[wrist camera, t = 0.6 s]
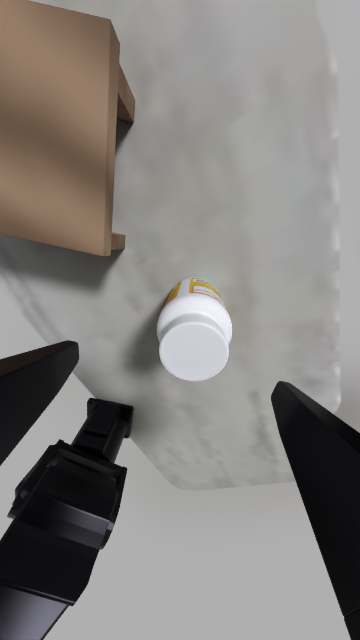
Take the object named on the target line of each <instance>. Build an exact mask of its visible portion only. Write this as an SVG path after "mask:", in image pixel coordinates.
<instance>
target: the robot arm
mask: <svg viewBox="0 0 360 640" xmlns="http://www.w3.org/2000/svg"><path fill="white" fill-rule="evenodd" d="M78 360H79V346H78V343H77V342H74V341H69V340H67V341H63V342H60V343H56V344H53V345H49V346H46V347H42V348H39V349H35V350H32V351H28V352H25V353H21V354H17V355H14V356H10V357H7V358H4V359H0V465H1V464H2V463H3V462H4V460H5V459H6V458H7V457H8V456H9V454H10V453H11V452H12V450H13V449H14V448H15V447H16V445H17V444H18V443H19V441H20V440H21V439H22V438H23V436H24V435H25V434H26V433H27V432H28V430H29V429H30V428H31V426H32V425H33V424H34V423H35V422H36V420H37V419H38V418H39V416H40V415H41V414H42V413H43V411H44V410H45V409H46V408H47V406H48V405H49V404H50V403H51V401H52V400H53V399H54V397H55V396H56V395H57V393H58V392H59V390H60V389H61V388H62V386H63V385H64V383H65V382H66V380H67V379H68V377H69V375H70V374H71V372H72V371H73V369H74V368H75V366H76V365H77V363H78ZM271 401H272V405H273V410H274V414H275V418H276V422H277V426H278V430H279V433H280V437H281V440H282V443H283V446H284V449H285V451H286V454H287V457H288V460H289V463H290V466H291V469H292V471H293V474H294V477H295V480H296V483H297V486H298V488H299V491H300V494H301V497H302V500H303V503H304V506H305V509H306V511H307V514H308V517H309V520H310V523H311V526H312V529H313V532H314V534H315V537H316V540H317V543H318V546H319V549H320V552H321V554H322V557H323V560H324V563H325V566H326V569H327V572H328V574H329V577H330V580H331V583H332V586H333V589H334V592H335V594H336V597H337V600H338V603H339V606H340V609H341V612H342V614H343V616H344V621H345V624H346V627H347V629H348V632H349V635H350V638H351V640H360V433H359V432H357V431H356V430H355V429H353V428H352V427H350V426H349V425H348V424H346V423H345V422H343V421H342V420H341V419H339V418H338V417H336V416H335V415H334V414H332V413H331V412H330V411H328V410H327V409H325V408H324V407H323V406H321V405H320V404H318V403H317V402H316V401H314V400H313V399H311V398H310V397H309V396H307V395H306V394H304V393H303V392H302V391H300V390H299V389H297V388H296V387H295V386H293V385H292V384H290V383H288V382H283V381H279V382H278V383H277V385H276V387H275V389H274V391H273V393H272V395H271ZM133 410H134V408H133V407H131V406H127V405H123V404H118V403H113V402H109V401H104V400H99V399H95V398H89V400H88V401H87V419H86V421H85V423H84V424H83V426H82V427H81V429H80V431H79V432H78V434H77V436H76V437H75V439H74V440H73V442H72V444H71V445H69V444H67V443H65V442H64V441H63V440H59V441H58V442H57V444H55V445H49V447H48V448H47V450H46V451H45V452H44V454H43V455H42V457H41V458H40V459H39V461H38V462H37V463H36V464H35V465H34V467H33V468H32V469H31V470H30V471H29V473H28V474H27V475H26V476H25V477H24V478H23V480H22V481H21V482H20V483H19V485H18V486H17V487H16V489H15V500H14V502H13V504H12V505H13V506H12V508H11V510H10V512H9V513H8V515H7V517H9V518H12V519H14V520H13V521H12V523H11V524H10V526H9V528H8V529H7V531H6V533H5V534H4V535H3V537H2V539H1V540H0V640H43V639H44V638H45V636H46V635H47V634H48V632H49V631H50V630H51V628H52V627H53V626H54V624H55V623H56V622H57V621H58V619H59V618H60V617H61V615H62V614H63V613H64V611H65V610H66V609H67V607H68V606H73V605H74V604H75V603H76V601H77V600H78V598H79V597H80V595H81V594H82V592H83V591H84V589H85V588H86V586H87V584H88V582H89V579H90V575H91V572H92V569H93V566H94V563H95V560H96V558H97V555H98V552H99V549H103V548H104V546H105V545H106V543H107V541H108V539H109V537H110V534H111V532H112V530H113V527H114V524H115V521H116V518H117V515H118V511H119V508H120V503H121V498H122V492H123V488H124V483H125V478H126V473H127V468H126V467H121V466H119V465H116V464H114V462H115V460H116V457H117V454H118V451H119V449H120V446H121V443H122V440H123V438H129V436H130V432H131V425H132V418H133Z"/></svg>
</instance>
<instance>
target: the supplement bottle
mask: <svg viewBox="0 0 360 640" xmlns="http://www.w3.org/2000/svg"><path fill="white" fill-rule="evenodd" d="M157 336H158V340H159V342H160V346H159V355H160V359H161V362H162V364H163V366H164V367H165V368H166V369H167V371H169V372H170V373H171V374H172V375H174V376H176V377H178V378H180V379H183V380H187V381H202V380H206V379H209V378H211V377H213V376H215V375H216V374H218V373H219V372H220V371H221V370H222V369H223V367H224V366H225V364H226V362H227V359H228V352H229V351H228V345H229V343H230V340H231V337H232V323H231V320H230V317H229V314H228V312H227V310H226V308H225V306H224V303H223V301H222V299H221V297H220V295H219V293H218V291H217V289H216V288H215V287H214V286H213V285H212V284H211V283H210V282H208V281H207V280H204V279H201V278H188V279H185V280H183V281H181V282H179V283H178V284H177V285H176V286H175V287H174V288H173V290H172V291H171V293H170V295H169V297H168V299H167V301H166V303H165V305H164V307H163V309H162V311H161V314H160V316H159V319H158V322H157Z"/></svg>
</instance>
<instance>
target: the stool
mask: <svg viewBox="0 0 360 640" xmlns="http://www.w3.org/2000/svg"><path fill="white" fill-rule="evenodd" d="M119 53H120V43H119V41H118V38H117V35H116V33H115V30H114V28H113V25H112V22H111V20H110V19H106V18H102V17H98V16H93V15H89V14H85V13H80V12H76V11H72V10H67V9H63V8H59V7H54V6H50V5H46V4H41V3H37V2H33V1H28V0H0V234H4V235H8V236H13V237H18V238H22V239H27V240H31V241H36V242H40V243H45V244H49V245H54V246H58V247H63V248H67V249H72V250H77V251H81V252H86V253H90V254H95V255H99V256H109V255H111V250H117V249H124V248H125V235H121V234H117V233H112V211H113V188H114V166H115V143H116V121H117V118H118V119H121V120H126V121H130V122H134V111H135V99H134V97H133V94H132V92H131V90H130V87H129V85H128V83H127V80H126V78H125V76H124V73H123V71H122V69H121V66H120V64H119Z"/></svg>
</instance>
